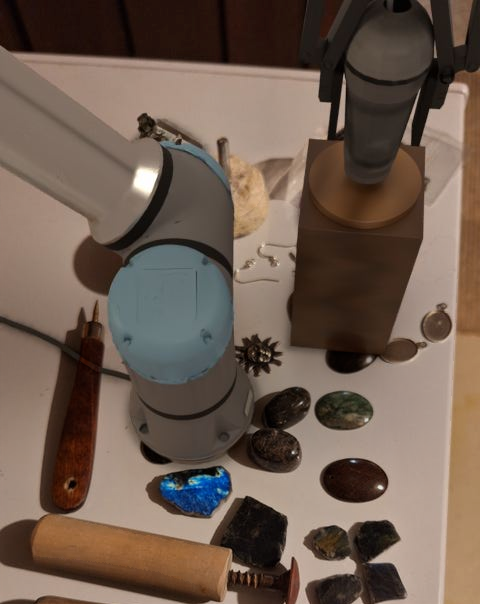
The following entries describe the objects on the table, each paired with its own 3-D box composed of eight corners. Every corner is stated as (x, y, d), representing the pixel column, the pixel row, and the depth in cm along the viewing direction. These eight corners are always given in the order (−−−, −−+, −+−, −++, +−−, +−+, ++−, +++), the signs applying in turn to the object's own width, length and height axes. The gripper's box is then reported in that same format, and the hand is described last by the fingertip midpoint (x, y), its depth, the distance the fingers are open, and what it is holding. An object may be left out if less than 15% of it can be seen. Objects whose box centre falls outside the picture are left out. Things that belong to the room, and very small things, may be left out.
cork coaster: (303, 224, 62) (304, 217, 61) (313, 142, 66) (313, 134, 65) (418, 233, 61) (420, 226, 60) (420, 149, 65) (422, 141, 64)
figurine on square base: (202, 178, 92) (129, 153, 89) (190, 202, 98) (121, 179, 95) (213, 111, 95) (143, 84, 92) (201, 138, 101) (134, 114, 98)
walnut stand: (289, 346, 81) (297, 228, 61) (298, 270, 86) (308, 138, 66) (383, 355, 80) (423, 238, 60) (387, 278, 85) (425, 146, 65)
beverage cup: (379, 207, 59) (430, -18, 41) (314, 173, 61) (335, -56, 43) (419, 159, 61) (485, -75, 43) (355, 128, 63) (392, -108, 45)
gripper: (609, -229, 37) (484, 110, 58) (273, -236, 39) (270, 96, 60) (623, -160, 34) (485, 171, 55) (258, -170, 36) (260, 155, 57)
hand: (373, 132), depth 57 cm, fingers closed on beverage cup, 7 cm apart
